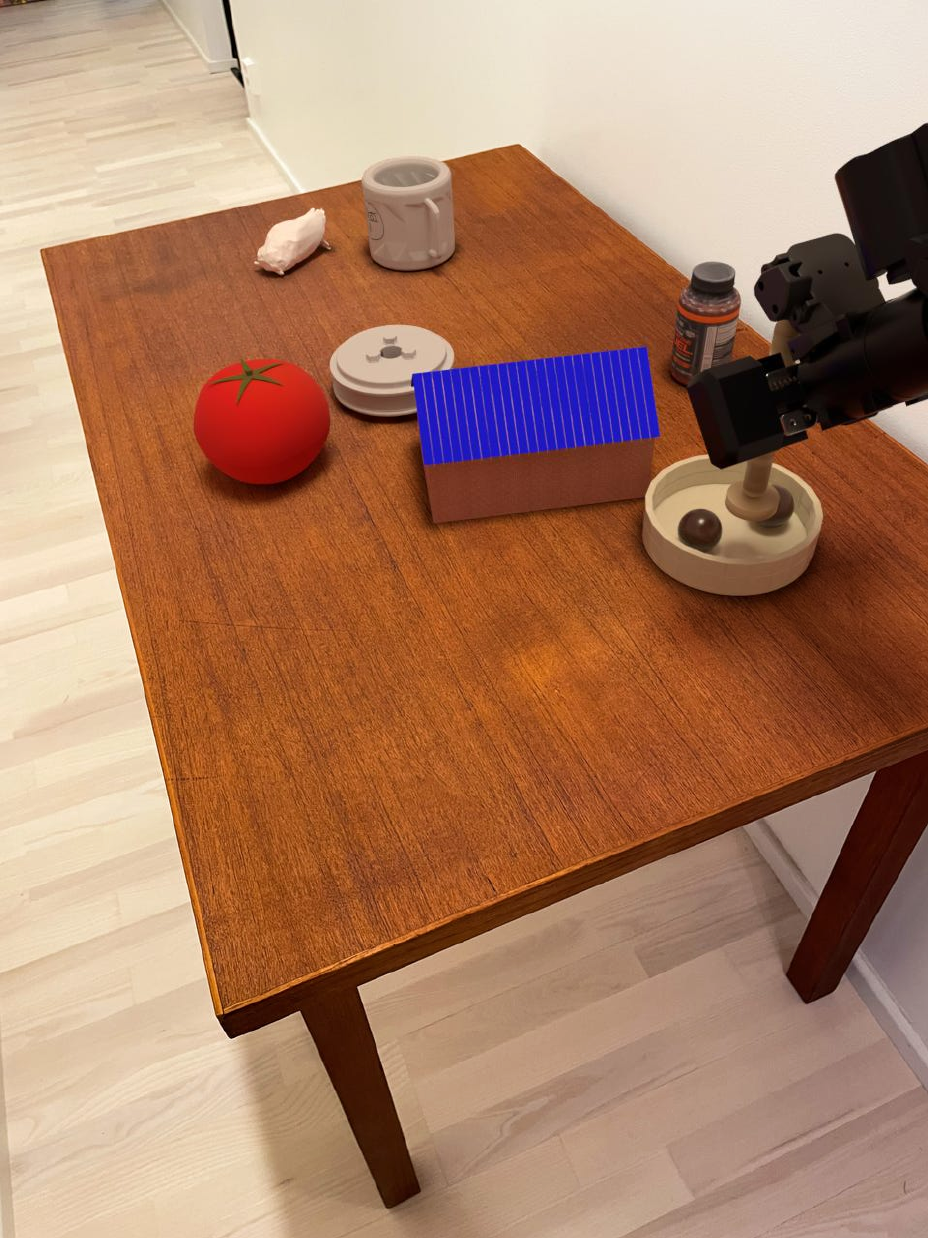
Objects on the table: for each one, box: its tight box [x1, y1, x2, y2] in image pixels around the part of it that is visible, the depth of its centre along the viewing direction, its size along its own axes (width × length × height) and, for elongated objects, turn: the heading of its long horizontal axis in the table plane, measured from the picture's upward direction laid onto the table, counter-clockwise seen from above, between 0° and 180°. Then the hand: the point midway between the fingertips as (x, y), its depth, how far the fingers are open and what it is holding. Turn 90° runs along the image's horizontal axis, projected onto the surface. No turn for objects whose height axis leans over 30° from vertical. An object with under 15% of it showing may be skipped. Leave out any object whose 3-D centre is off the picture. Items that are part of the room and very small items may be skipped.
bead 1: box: [677, 509, 723, 552], centre depth 78 cm, size 4×4×4 cm
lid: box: [329, 324, 455, 417], centre depth 98 cm, size 13×13×5 cm
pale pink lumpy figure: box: [253, 206, 331, 276], centre depth 119 cm, size 5×7×10 cm
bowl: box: [641, 453, 824, 597], centre depth 80 cm, size 14×14×4 cm
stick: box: [725, 320, 801, 521], centre depth 69 cm, size 4×4×16 cm
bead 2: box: [755, 485, 794, 528], centre depth 80 cm, size 4×4×4 cm
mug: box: [361, 155, 456, 272], centre depth 117 cm, size 14×11×10 cm
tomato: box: [193, 358, 331, 485], centre depth 88 cm, size 11×12×10 cm
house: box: [411, 346, 661, 524], centre depth 85 cm, size 12×20×12 cm, turn 98°
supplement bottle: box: [669, 261, 742, 387], centre depth 95 cm, size 6×6×11 cm
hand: (757, 414), depth 70 cm, fingers closed on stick, 2 cm apart
